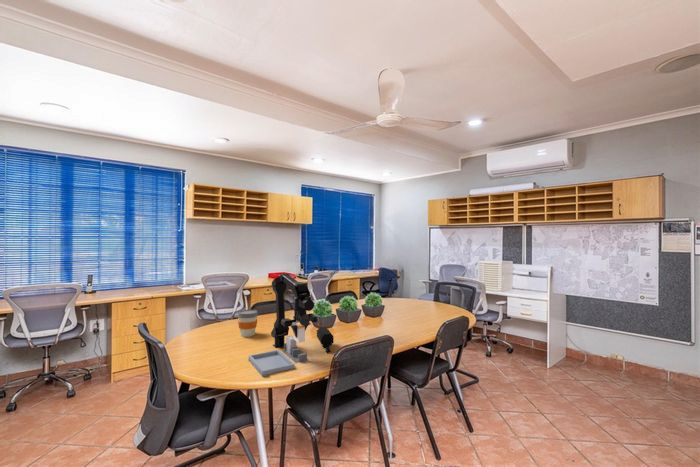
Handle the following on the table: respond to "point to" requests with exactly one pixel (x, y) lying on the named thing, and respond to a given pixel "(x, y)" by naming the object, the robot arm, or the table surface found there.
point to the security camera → (325, 338)
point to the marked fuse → (300, 333)
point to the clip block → (295, 354)
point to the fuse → (290, 343)
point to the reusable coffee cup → (247, 322)
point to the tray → (270, 362)
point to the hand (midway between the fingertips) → (299, 336)
